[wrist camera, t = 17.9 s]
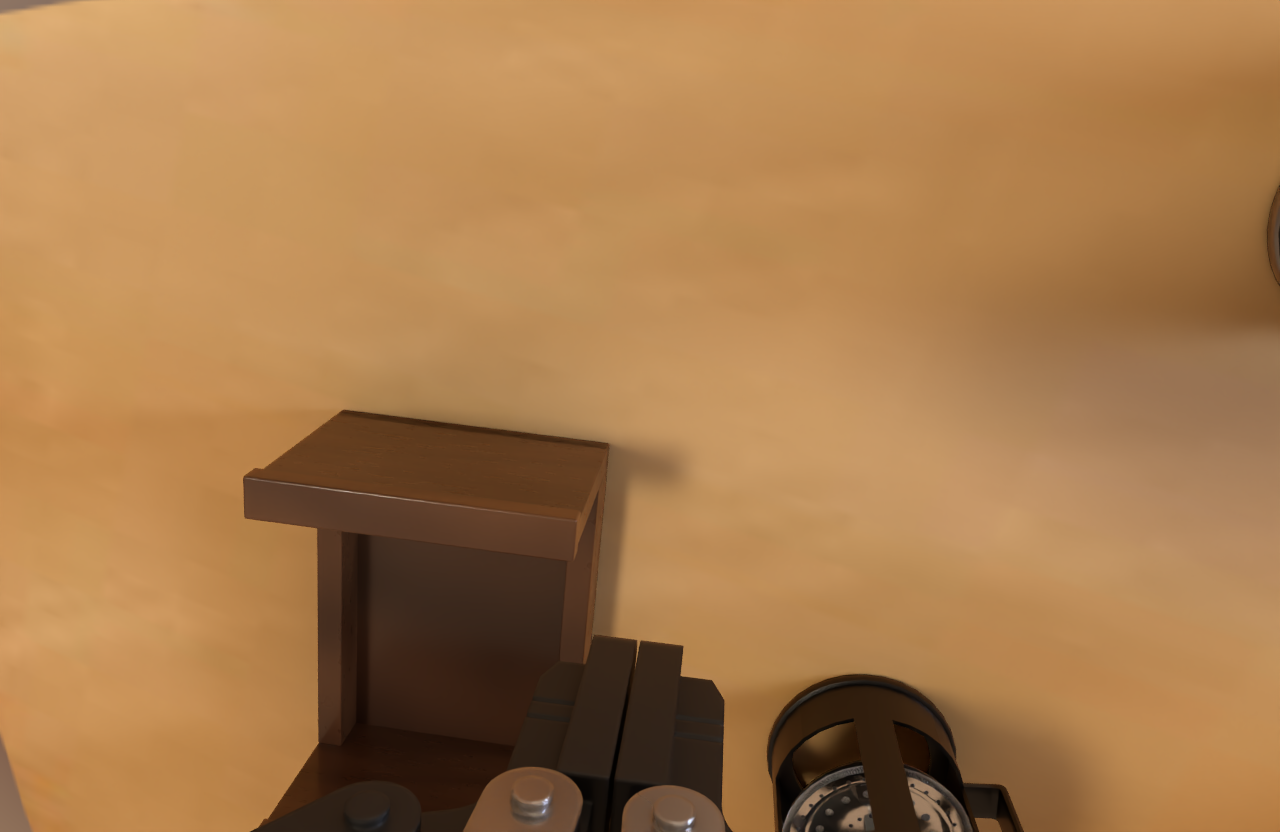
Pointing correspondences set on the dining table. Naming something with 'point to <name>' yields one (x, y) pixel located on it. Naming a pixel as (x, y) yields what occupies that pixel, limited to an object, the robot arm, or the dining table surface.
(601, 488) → the tray
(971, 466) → the dining table surface
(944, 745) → the french press
